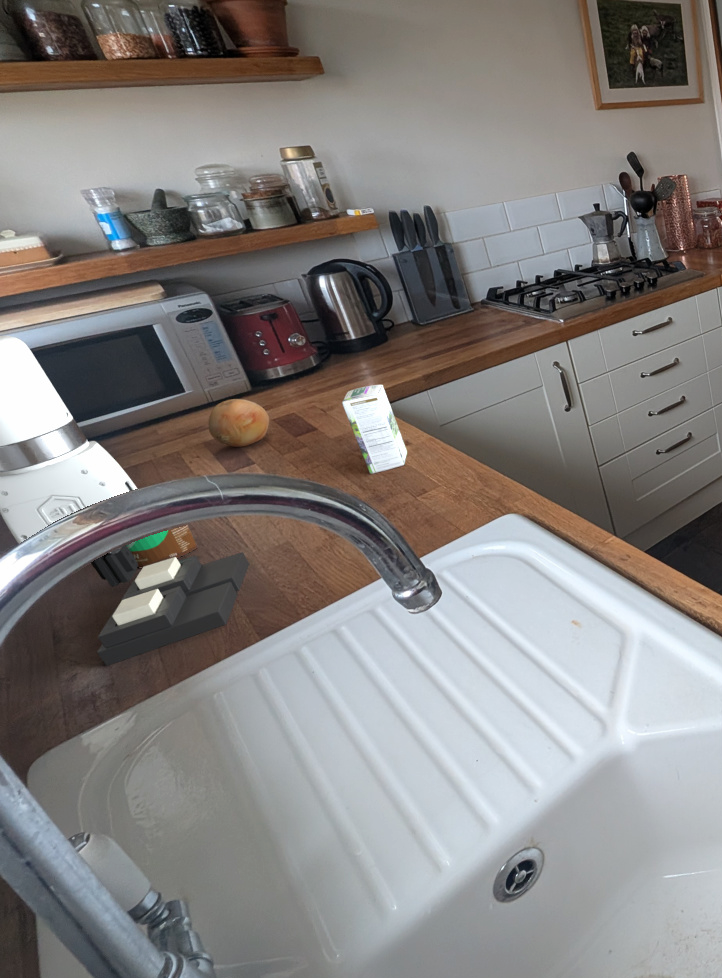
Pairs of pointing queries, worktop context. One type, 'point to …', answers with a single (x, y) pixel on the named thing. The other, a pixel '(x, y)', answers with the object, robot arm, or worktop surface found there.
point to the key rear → (158, 573)
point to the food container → (163, 546)
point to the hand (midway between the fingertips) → (124, 577)
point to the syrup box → (375, 428)
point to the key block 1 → (200, 576)
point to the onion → (238, 422)
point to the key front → (138, 607)
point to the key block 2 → (167, 622)
